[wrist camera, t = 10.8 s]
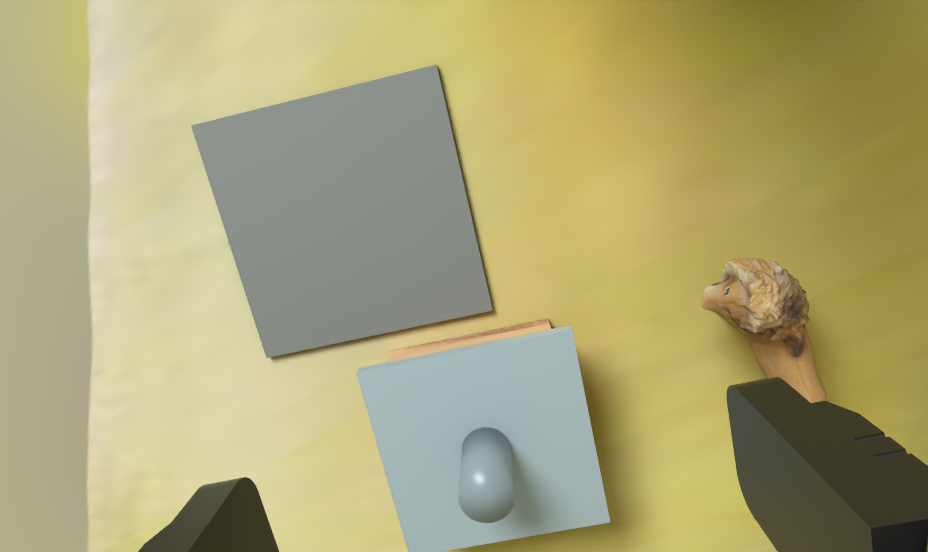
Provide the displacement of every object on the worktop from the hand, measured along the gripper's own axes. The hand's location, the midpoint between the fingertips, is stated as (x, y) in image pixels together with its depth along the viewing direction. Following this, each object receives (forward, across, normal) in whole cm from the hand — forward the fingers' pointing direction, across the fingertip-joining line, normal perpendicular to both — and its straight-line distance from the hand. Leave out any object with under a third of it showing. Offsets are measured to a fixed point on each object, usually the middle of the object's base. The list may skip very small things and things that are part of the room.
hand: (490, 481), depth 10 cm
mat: (+30, +9, -2) cm, 31 cm away
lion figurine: (+30, -15, +11) cm, 36 cm away
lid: (+25, +3, +13) cm, 28 cm away
